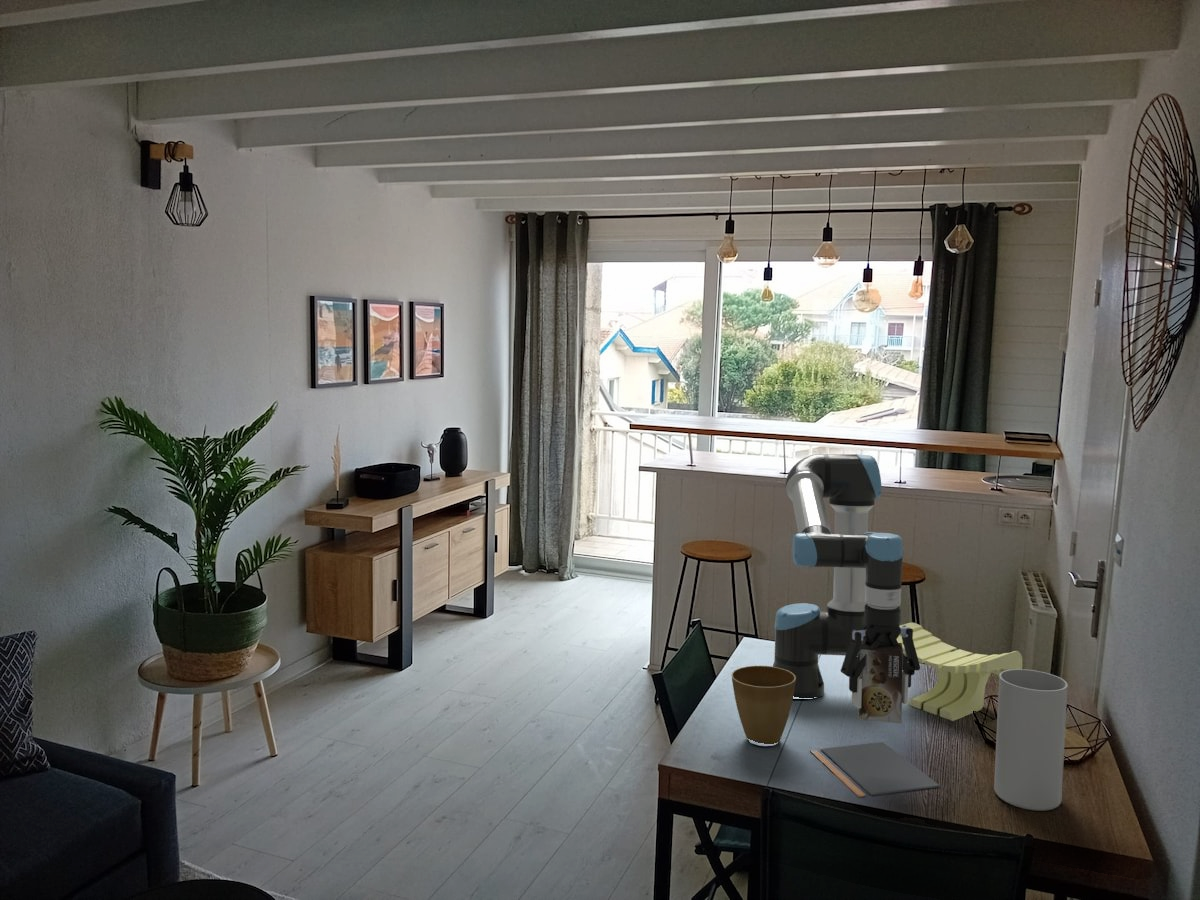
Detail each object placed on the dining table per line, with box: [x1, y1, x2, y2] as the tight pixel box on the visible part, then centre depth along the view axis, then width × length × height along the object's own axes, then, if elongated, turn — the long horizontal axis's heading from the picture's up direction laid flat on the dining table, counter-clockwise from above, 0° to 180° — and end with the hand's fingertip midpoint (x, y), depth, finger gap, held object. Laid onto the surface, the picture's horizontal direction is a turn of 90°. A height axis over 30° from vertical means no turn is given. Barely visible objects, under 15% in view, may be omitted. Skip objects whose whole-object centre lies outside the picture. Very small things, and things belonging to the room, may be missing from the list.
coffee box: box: [857, 640, 903, 725], centre depth 194 cm, size 9×6×16 cm
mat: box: [820, 741, 940, 796], centre depth 196 cm, size 22×16×1 cm
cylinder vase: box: [993, 668, 1069, 812], centre depth 182 cm, size 12×12×25 cm
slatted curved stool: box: [896, 622, 1023, 722], centre depth 231 cm, size 30×16×18 cm, turn 36°
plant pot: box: [731, 665, 796, 744], centre depth 209 cm, size 15×15×16 cm
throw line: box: [812, 749, 866, 798], centre depth 194 cm, size 22×2×1 cm, turn 13°
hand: (879, 703), depth 194 cm, fingers closed on coffee box, 10 cm apart
